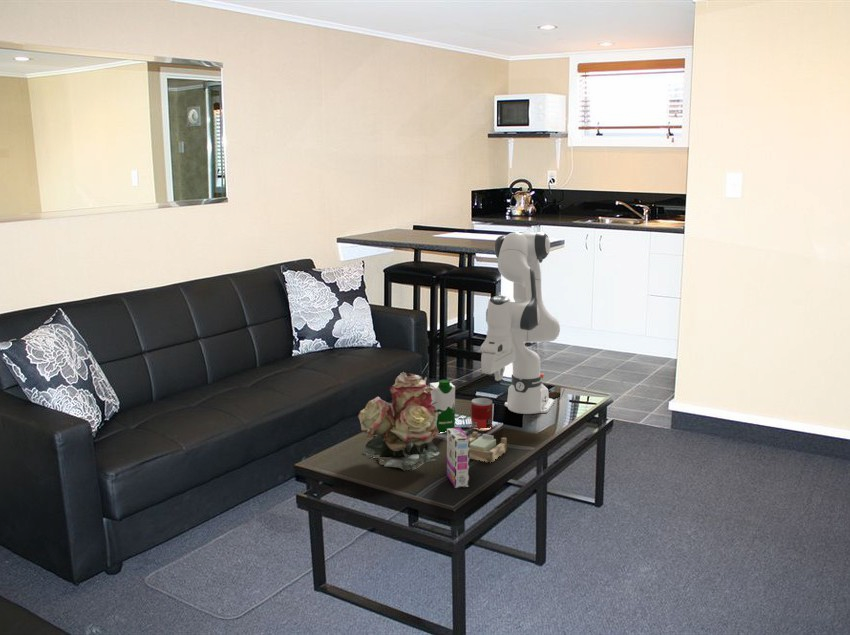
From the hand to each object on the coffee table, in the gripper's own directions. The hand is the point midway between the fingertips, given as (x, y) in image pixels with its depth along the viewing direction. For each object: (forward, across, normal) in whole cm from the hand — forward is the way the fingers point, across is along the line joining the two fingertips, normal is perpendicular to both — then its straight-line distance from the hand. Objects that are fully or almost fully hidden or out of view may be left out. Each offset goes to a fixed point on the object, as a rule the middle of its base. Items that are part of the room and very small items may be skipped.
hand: (498, 379), depth 291 cm
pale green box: (+24, +13, 0) cm, 27 cm away
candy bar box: (+24, +37, +4) cm, 44 cm away
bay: (+24, +13, 0) cm, 27 cm away
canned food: (+24, -10, -12) cm, 29 cm away
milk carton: (+24, -1, -24) cm, 34 cm away
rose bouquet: (+24, +28, -22) cm, 43 cm away
